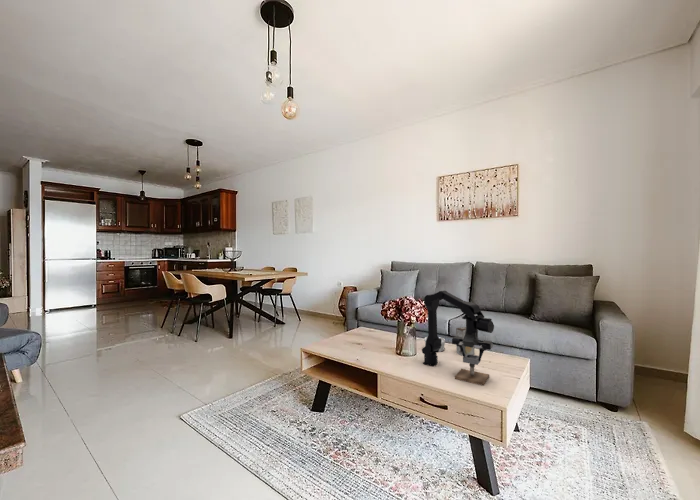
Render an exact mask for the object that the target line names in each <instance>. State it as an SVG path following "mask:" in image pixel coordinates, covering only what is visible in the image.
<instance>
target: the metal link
mask: <svg viewBox="0 0 700 500" xmlns="http://www.w3.org/2000/svg"><path fill="white" fill-rule="evenodd" d="M481 361H482V359H481V360H480V361H479V355H476V354H473V355H471V354H466V355H465V356H464V357H463V356H462V363H465V364H475V366H479V364H480V362H481Z"/></svg>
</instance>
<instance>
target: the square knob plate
mask: <svg viewBox="0 0 700 500" xmlns="http://www.w3.org/2000/svg"><path fill="white" fill-rule="evenodd" d="M468 365H469V369H464V368H461V369H460V370H459V371H457V373H456V374H455V375H454V380H457V381H462V382H466V383H471V384H475V385H480V386H485V385H486V384H487V382H488V380H489V379H490V374H489V373H486V372H485V373H484V372H480V371H479V372H478V371H475V367H476V365H475V364H470V363H468Z"/></svg>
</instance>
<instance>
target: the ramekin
mask: <svg viewBox="0 0 700 500" xmlns="http://www.w3.org/2000/svg"><path fill="white" fill-rule="evenodd" d="M427 337H428V336H426V337H424V339H423V341H424V347H425V346H426V340H427ZM438 337H439V339H441V344H442V346H441V348H440V349H439V351H438V352H437V353H441V352H443V351H444V349H445V345H446V339H445V338H444V337H440V336H438Z"/></svg>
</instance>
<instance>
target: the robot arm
mask: <svg viewBox="0 0 700 500" xmlns="http://www.w3.org/2000/svg"><path fill="white" fill-rule="evenodd" d="M442 300H444V301H446V302H448V303H449V304H451V305H453V306H454V307H456V308H458V309H459V310H460V311H461V313H463V314H464V316H461V319H463V320H465V327H466V331H465V336H464V338H462V337H458V336H456V335H455V336H454V337H453V338H452V339H451V344H452V345H456V344H457V346H459V348H460V349H461V351H462V354H463V356H462V358H463V357H464V356H465V347H466V346H467V347H471V348H472V347H474V348H475V346H479V349H478V350H479V353H478V356H479V361H480V360H481V361H482V356H483V354H484V352H485V351H488V350H490V351H491V350H492V349H493V348H494V347H493V342H492V341H491V340H490V341H489V340H483V341H479V332H484V333H489V334H492V333H493V332H494V329H495V325H494V322H493V320H492V318H489V317H488V318H487V317H485V315H484V314H483V312H482V310H481V309H480V305H478V304H477V303H474V302H471V301H466V300H464V299H461V298H459V297H457V296H455V295H453V294H451V293H450V292H448V291H447V290H440V291H438V292H435V293H433V294H427V295H425V296H424V299H423V302H424V307H425V308H426V310H427V329H428V330H427V331H428V336H426V337H427V340H426V346H425V345H424V347H422V349H421V352H422V354H423V355H424V358H423V359H424V360H423V364H424V365H426V366H427V365H428V366H432V367H435V366H436V365H437V364H438V362H439V360H438V355H437V353H439V352H438V351H439V349H440V348H441V346H442V344H441V339H439V337H440V336H438V318H437V317H438V316H437V311H438V308H439V305H440V301H442ZM481 361H480V362H481Z"/></svg>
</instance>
